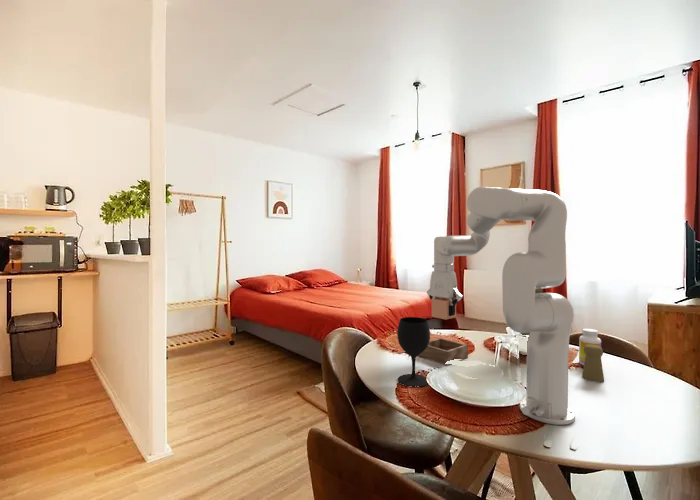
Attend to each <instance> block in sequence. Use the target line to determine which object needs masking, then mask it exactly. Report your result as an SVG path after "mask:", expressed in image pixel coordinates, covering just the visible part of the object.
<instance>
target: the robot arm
mask: <svg viewBox="0 0 700 500" xmlns="http://www.w3.org/2000/svg"><path fill="white" fill-rule="evenodd" d="M466 208H467V210H468V212H470V213H469V214H468V215H467V217H466V224H467V226H468V228H469V229H470V230H471V231H472V232H473V233H472V234H470V235H446V236H445V235H444V236H436V237H435V238H434V239H433V264H432V265H431V268H433V271H432V272H431V274H430V281H429V282H430V283H429V289H428V290H427V291H426V294H427V295H428V298H429V299H430V300H431V303H432V299H434V298H446V299H448V300H449V303H450V305H449V316H453V315H455V305H456V306H457V304H458V303H459V302H460V301H461V299H463V294H461V293H460V292H459V290H458V279H457V274H456V272H455V257H469V256H470V257H471V256H474V255H476V254H478V253H479V252H480V251H482V250H483V249H484V248H485V247H486V245H487V244H488V243H489V240H490V236H491V235H490V234H491V230H492V229H493V228H494V227H495V226H496V225H497V224H498V223H500V222H501V221H502V220H503V221H531V222H534V223H533V224H532V225H531V227H530V230H529V233H528V238H527V241H528V247H527V251H521V252H520V251H519V252H515V253H513V254H511V255H510V256H508V257H507V259H506V260H505V262H504V264H503V267H502V274H501V279H502V283H501V284H502V287H501V288H502V312H503V319H504V321H505V323H506V324H507V326H508V327H509V329H510V330H512V331H513V332H516V333H519V334H520V333H529V332H530V334H529V337H528V341H527V356H526V390H525V391H526V398H525V399H526V400H524V399H523V400H524V401H523V402H521V401H520V402H521V403H519V409H520V411H521V412H522V414H523V415H525V416H527V417H528V418H531V419H533V420H536V421H538V422H541V423H545V424H549V425H554V426H555V425H558V426H562V425H570V424H572V423H574V421H576V420H575V419H576V414H575V412H574V410H572V409H571V408H570V407H569V399H568V398H569V358H570V357H569V354H570V352H569V350H570V336H571V331H572V327H573V323H574V316H575V315H574V308H573V305H572V303H571V302H570V300H568V299H567V298H566V297H565V296H563V295H562V294H559V293H555V292H554V293H553V292H542V293H537V294H535V289H540V288H542V289H550V288H556V287H559V286H561V285H562V284H564V282H565V280H566V278H567V250H566V249H567V248H566V247H567V246H566V245H567V244H566V229H567V220H568V210H567V209H568V208H567V206H566V202H565V201H564V200H563V198H562V197H561V196H559V195H558V194H556V193H554V192H552V191H547V190H543V189H533V188H532V189H527V188H525V189H524V188H511V187H510V188H507V187H506V188H505V187H493V186H478V187H475V188H473V189H472V191H471V192H470V193H469V194H468V196H467V199H466Z"/></svg>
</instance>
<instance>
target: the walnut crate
mask: <svg viewBox="0 0 700 500" xmlns="http://www.w3.org/2000/svg"><path fill="white" fill-rule="evenodd" d="M419 357H420V358H424V359H427V360H430V361H432V362H437V363H439V364H442V365H445V363H446V362H447V361H450V360H454V359H464V360H466V359H468V358H469V345H468V344H465V343H461V342H457V341H453V340H449V339H446V338H442V337H439V338H436V339H432V340H431V339H430V341H429V344H428V346H427V348H426V349H425V350H424V351H423V352H422V353H421V354H420V355H419Z"/></svg>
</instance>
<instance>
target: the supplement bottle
mask: <svg viewBox="0 0 700 500" xmlns="http://www.w3.org/2000/svg"><path fill="white" fill-rule="evenodd" d="M581 332H582V335H580V336H579V337H578V339H579V340H578V341H579V343H578V345H579V346H578V363H579V364H580V365H581V364H582V365H581V366H584V362H585V356H586V354H585V353H584V347H585V346H586V345H596V346H599V347H601V348H602V339H601V338H600V337H598V335H599V330H597V329H594V328H583V329H582V331H581Z"/></svg>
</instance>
